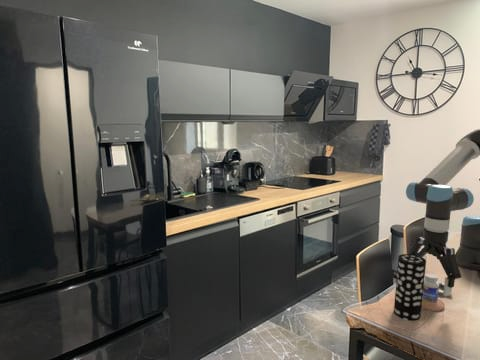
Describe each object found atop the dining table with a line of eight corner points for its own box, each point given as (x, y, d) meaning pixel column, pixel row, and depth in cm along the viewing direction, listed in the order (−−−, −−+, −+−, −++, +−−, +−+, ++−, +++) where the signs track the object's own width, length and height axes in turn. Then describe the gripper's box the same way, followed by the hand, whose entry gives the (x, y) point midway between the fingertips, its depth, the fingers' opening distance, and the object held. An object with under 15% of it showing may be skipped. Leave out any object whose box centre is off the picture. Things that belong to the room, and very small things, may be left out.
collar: (432, 281, 144) (432, 278, 144) (459, 295, 132) (460, 291, 132) (415, 285, 141) (415, 281, 140) (441, 299, 129) (442, 295, 129)
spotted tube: (419, 323, 113) (425, 265, 110) (391, 316, 118) (396, 260, 114) (421, 312, 120) (427, 257, 117) (395, 305, 125) (400, 252, 121)
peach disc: (427, 295, 132) (427, 292, 132) (451, 308, 123) (451, 305, 123) (406, 299, 129) (407, 297, 129) (429, 313, 120) (429, 310, 120)
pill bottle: (418, 301, 125) (421, 276, 124) (422, 296, 130) (424, 271, 128) (435, 306, 122) (438, 280, 121) (438, 300, 126) (441, 275, 125)
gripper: (478, 239, 111) (470, 301, 115) (415, 219, 134) (410, 271, 138) (461, 241, 109) (454, 305, 112) (400, 220, 132) (395, 273, 135)
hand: (430, 286), depth 125 cm, fingers open, 13 cm apart
